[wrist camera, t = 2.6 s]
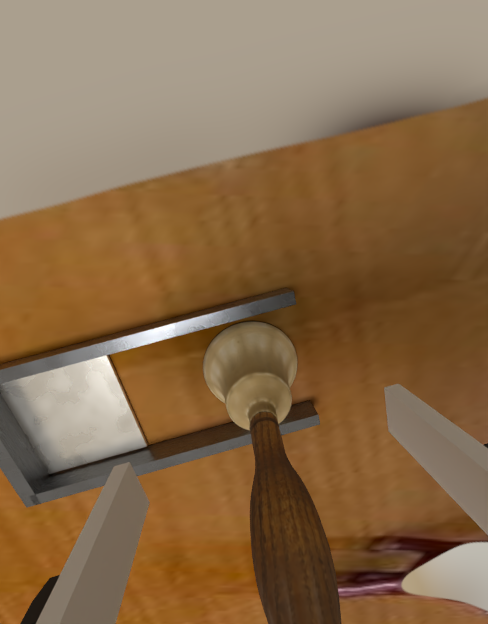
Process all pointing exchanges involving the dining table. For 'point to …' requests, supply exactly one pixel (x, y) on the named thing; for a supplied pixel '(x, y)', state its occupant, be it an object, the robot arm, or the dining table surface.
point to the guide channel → (106, 410)
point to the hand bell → (274, 476)
